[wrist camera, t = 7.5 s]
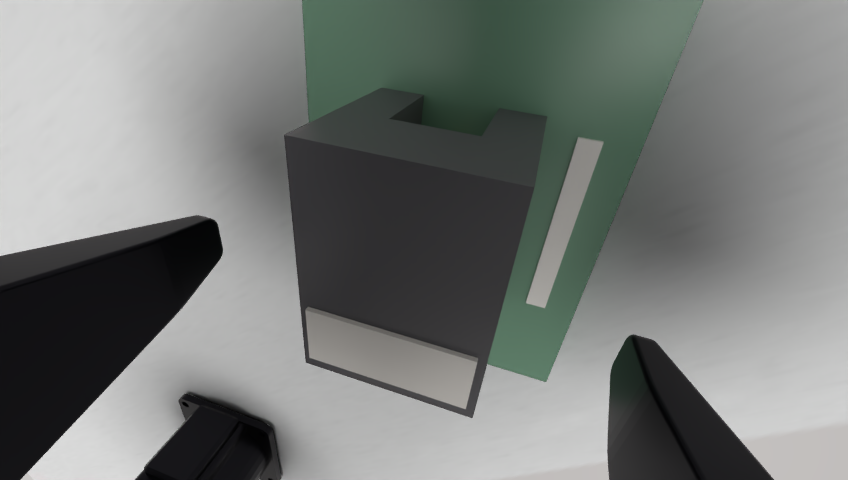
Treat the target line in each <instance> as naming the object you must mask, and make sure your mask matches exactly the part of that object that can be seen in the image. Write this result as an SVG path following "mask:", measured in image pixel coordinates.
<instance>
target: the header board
mask: <svg viewBox="0 0 848 480" xmlns="http://www.w3.org/2000/svg"><path fill="white" fill-rule="evenodd" d="M702 3H703V0H302V6H303V24H304V42H305V60H306V79H307V97H308V115H309V123H310V122H312V121H314V120H316V119H318V118H320V117H322V116H324V115H326V114H328V113H330V112H332V111H334V110H336V109H338V108H340V107H342V106H345V105H347V104H349V103H351V102H353V101H355V100H357V99H359V98H361V97H363V96H365V95H367V94H369V93H371V92H373V91H375V90H377V89H379V88H387V89H393V90H398V91H404V92H410V93H416V94H421V95H424V100H423V111H422V121H421V125H425V126H430V127H435V128H441V129H446V130H451V131H456V132H462V133H467V134H472V135H477V136H482V135H483V133H484V132H485V130H486V129H487V127H488V125H489V124H490V122H491V121H492V119H493V117H494V116H495V114H496V113H497V111H498V109H499V108H502V109H507V110H513V111H519V112H525V113H530V114H536V115H542V116H547V122H546V127H545V132H544V138H543V143H542V149H541V154H540V160H539V165H538V171H537V176H536V182H535V187H534V191H533V195H532V199H531V202H530V206H529V210H528V213H527V217H526V221H525V225H524V228H523V232H522V236H521V239H520V243H519V247H518V251H517V254H516V258H515V262H514V265H513V269H512V273H511V277H510V280H509V284H508V288H507V291H506V295H505V299H504V303H503V306H502V310H501V314H500V318H499V321H498V325H497V329H496V332H495V336H494V340H493V344H492V347H491V351H490V355H489V358H488V362H487V364H489V365H492V366H496V367H499V368H502V369H505V370H509V371H512V372H515V373H518V374H522V375H525V376H528V377H531V378H534V379H538V380H541V381H544V382H546V381H547V379H548V376H549V374H550V371H551V369H552V366H553V364H554V362H555V359H556V357H557V354H558V352H559V350H560V347H561V345H562V342H563V340H564V337H565V335H566V333H567V330H568V328H569V325H570V323H571V320H572V318H573V316H574V313H575V311H576V308H577V306H578V303H579V301H580V299H581V296H582V294H583V291H584V289H585V286H586V284H587V282H588V279H589V277H590V274H591V272H592V270H593V267H594V265H595V262H596V260H597V257H598V255H599V253H600V250H601V248H602V245H603V243H604V240H605V238H606V236H607V233H608V231H609V228H610V226H611V223H612V221H613V219H614V216H615V214H616V211H617V209H618V206H619V204H620V202H621V199H622V197H623V194H624V192H625V189H626V187H627V185H628V182H629V180H630V177H631V175H632V173H633V170H634V168H635V165H636V163H637V160H638V158H639V156H640V153H641V151H642V148H643V146H644V143H645V141H646V139H647V136H648V134H649V131H650V129H651V126H652V124H653V122H654V119H655V117H656V114H657V112H658V109H659V107H660V105H661V102H662V100H663V97H664V95H665V93H666V90H667V88H668V85H669V83H670V80H671V78H672V76H673V73H674V71H675V68H676V66H677V63H678V61H679V59H680V56H681V54H682V51H683V49H684V46H685V44H686V42H687V39H688V37H689V34H690V32H691V29H692V27H693V25H694V22H695V20H696V17H697V15H698V13H699V10H700V8H701V5H702Z"/></svg>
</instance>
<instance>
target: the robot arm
mask: <svg viewBox="0 0 848 480" xmlns="http://www.w3.org/2000/svg"><path fill="white" fill-rule="evenodd" d="M222 253H223V247H222V242H221V237H220V233H219V228H218V224H217V223H216V221H215V220H213V219H211V218H207V217H204V216H199V215H196V216H191V217H186V218H181V219H176V220H171V221H167V222H162V223H157V224H152V225H147V226H142V227H138V228H133V229H128V230H123V231H118V232H114V233H109V234H104V235H99V236H94V237H90V238H85V239H80V240H75V241H70V242H65V243H61V244H56V245H51V246H46V247H41V248H37V249H32V250H27V251H22V252H17V253H13V254H8V255H3V256H0V480H20V479H21V478H22V477H23V476H24V475H25V474H26V473H27V472H28V471H29V470H30V469H31V468H32V467H33V466H34V465H35V464H36V463H37V462H38V460H39V459H40V458H41V457H42V456H43V455H44V454H45V453H46V452H47V451H48V450H49V449H50V448H51V447H52V446H53V445H54V444H55V442H56V441H57V440H58V439H59V438H60V437H61V436H62V435H63V434H64V433H65V432H66V431H67V430H68V429H69V428H70V427H71V426H72V424H73V423H74V422H75V421H76V420H77V419H78V418H79V417H80V416H81V415H82V414H83V413H84V412H85V411H86V410H87V409H88V408H89V406H90V405H91V404H92V403H93V402H94V401H95V400H96V399H97V398H98V397H99V396H100V395H101V394H102V393H103V392H104V391H105V390H106V388H107V387H108V386H109V385H110V384H111V383H112V382H113V381H114V380H115V379H116V378H117V377H118V376H119V375H120V374H121V373H122V372H123V371H124V369H125V368H126V367H127V366H128V365H129V364H130V363H131V362H132V361H133V360H134V359H135V358H136V357H137V356H138V355H139V354H140V353H141V351H142V350H143V349H144V348H145V347H146V346H147V345H148V344H149V343H150V342H151V341H152V340H153V339H154V338H155V337H156V336H157V335H158V333H159V332H160V331H161V330H162V329H163V328H164V327H165V326H166V325H167V324H168V323H169V322H170V321H171V320H172V319H173V318H174V316H175V315H176V314H177V313H178V312H179V311H180V310H181V309H182V307H183V306H184V305H185V304H186V302H187V301H188V300H189V299H190V297H191V296H192V295H193V294H194V292H195V291H196V290H197V288H198V287H199V286H200V285H201V283H202V282H203V281H204V279H205V278H206V277H207V276H208V274H209V273H210V272H211V270H212V269H213V268H214V267H215V265H216V264H217V263H218V261H219V260H220V259H221V256H222ZM179 404H180V406H181V409H182V412H183V415H184V417H185V420H186V421H185V422H184V423H183V424H182V425H181V427H180V428H179V429H178V430H177V431H176V432H175V433H174V434H173V435H172V437H171V438H170V439H169V440H168V441H167V442H166V443H165V444H164V445H163V446H162V448H161V449H160V450H159V451H158V452H157V453H156V454H155V455H154V456H153V458H152V459H151V460H150V461H149V462H148V463H147V464H146V466H145V467H144V470H143V471H142V472H141V473H140V474H139V476H138V477H137V478H136V479H135V480H259V479H260V480H281V473H280V468H279V462H278V456H277V451H276V445H275V440H274V434H273V430H272V428H271V427H270V426H269V425H267V424H265V423H263V422H260V421H257V420H255V419H252V418H250V417H247V416H244V415H242V414H239V413H236V412H234V411H231V410H229V409H226V408H223V407H221V406H218V405H215V404H213V403H210V402H207V401H205V400H202V399H200V398H197V397H194V396H192V395H189V394H184V395H183V396H182V397H181V398H180V399H179ZM607 453H608V470H609V480H774V479H773V478H772V477H771V475H770V474H769V473H768V472H767V471H766V470H765V468H764V467H763V466H762V465H761V464H760V463H759V462H758V460H757V459H756V458H755V457H754V456H753V455H752V453H751V452H750V451H749V450H748V449H747V447H745V445H744V444H743V443H742V442H741V441H740V439H739V438H738V437H737V436H736V435H735V434H734V432H733V431H732V430H731V429H730V428H729V427H728V425H727V424H726V423H725V422H724V421H723V420H722V418H721V417H720V416H719V415H718V414H717V413H716V411H715V410H714V409H713V408H712V407H711V406H710V404H709V403H708V402H707V401H706V400H705V399H704V397H703V396H702V395H701V394H700V393H699V392H698V390H697V389H696V388H695V387H694V386H693V385H692V383H691V382H690V381H689V380H688V379H687V378H686V376H685V375H684V374H683V373H682V372H681V371H680V369H679V368H678V367H677V366H676V365H675V364H674V362H673V361H672V360H671V359H670V358H669V357H668V355H667V354H666V353H665V352H664V351H663V350H662V348H661V347H660V346H659V345H658V344H657V343H656V342H655V341H654V340H651V339H648V338H644V337H641V336H637V335H630V336H629V337H628V338H627V339H626V340H625V342H624V344H623V346H622V348H621V350H620V352H619V353H618V355H617V357H616V359H615V361H614V363H613V365H612V369H611V375H610V396H609V420H608V449H607Z"/></svg>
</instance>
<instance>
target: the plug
mask: <svg viewBox="0 0 848 480" xmlns="http://www.w3.org/2000/svg"><path fill="white" fill-rule="evenodd" d="M423 100H424V95H421V94H416V93H410V92H404V91H398V90H393V89H387V88H379V89H377V90H375V91H373V92H371V93H369V94H367V95H365V96H363V97H361V98H359V99H357V100H355V101H353V102H351V103H349V104H347V105H345V106H342V107H340V108H338V109H336V110H334V111H332V112H330V113H328V114H326V115H324V116H322V117H320V118H318V119H316V120H314V121H312V122H310V123H308V124H306V125H304V126H301V127H299V128H297V129H295V130H293V131H291V132H289V133H287V134H285V135H284V137H285V148H286V158H287V169H288V179H289V190H290V200H291V211H292V221H293V232H294V243H295V253H296V264H297V274H298V285H299V295H300V306H301V316H302V327H303V337H304V348H305V358H306V363H309V364H312V365H315V366H318V367H321V368H324V369H327V370H330V371H333V372H336V373H339V374H342V375H345V376H348V377H351V378H354V379H357V380H360V381H363V382H366V383H369V384H372V385H375V386H378V387H381V388H384V389H387V390H390V391H393V392H396V393H399V394H402V395H405V396H408V397H411V398H414V399H417V400H420V401H423V402H426V403H429V404H432V405H435V406H438V407H441V408H444V409H447V410H450V411H453V412H456V413H459V414H462V415H465V416H468V417H471V418H473V414H474V410H475V407H476V403H477V399H478V396H479V392H480V388H481V384H482V381H483V377H484V373H485V370H486V366H487V362H488V358H489V355H490V351H491V347H492V344H493V340H494V336H495V332H496V329H497V325H498V321H499V318H500V314H501V310H502V306H503V303H504V299H505V295H506V291H507V288H508V284H509V280H510V277H511V273H512V269H513V265H514V262H515V258H516V254H517V251H518V247H519V243H520V239H521V236H522V232H523V228H524V225H525V221H526V217H527V213H528V210H529V206H530V202H531V199H532V195H533V191H534V187H535V182H536V176H537V171H538V165H539V160H540V154H541V149H542V143H543V138H544V132H545V127H546V122H547V116H542V115H536V114H530V113H525V112H519V111H513V110H507V109H502V108H499V109H498V111H497V113H496V114H495V116H494V117H493V119H492V121H491V122H490V124H489V125H488V127H487V129H486V130H485V132H484V133H483V135H482V136H477V135H472V134H467V133H462V132H456V131H451V130H446V129H441V128H435V127H430V126H425V125H421V121H422V111H423Z"/></svg>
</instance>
